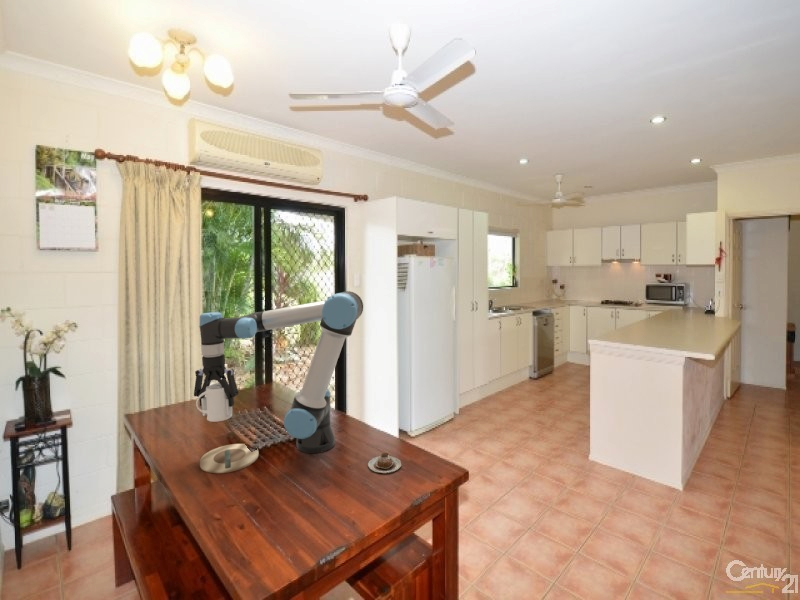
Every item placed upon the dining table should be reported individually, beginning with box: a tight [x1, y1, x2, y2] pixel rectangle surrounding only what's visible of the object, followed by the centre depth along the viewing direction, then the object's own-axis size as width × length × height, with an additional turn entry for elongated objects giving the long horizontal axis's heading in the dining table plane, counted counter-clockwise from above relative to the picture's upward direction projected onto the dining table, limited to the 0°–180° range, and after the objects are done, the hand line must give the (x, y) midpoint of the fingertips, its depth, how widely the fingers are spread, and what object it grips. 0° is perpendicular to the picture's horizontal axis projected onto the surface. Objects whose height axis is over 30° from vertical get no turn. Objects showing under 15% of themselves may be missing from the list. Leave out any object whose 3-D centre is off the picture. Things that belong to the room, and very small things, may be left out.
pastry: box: [367, 452, 402, 474], centre depth 141 cm, size 12×12×5 cm
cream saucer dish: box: [199, 443, 260, 474], centre depth 146 cm, size 20×20×7 cm
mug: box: [195, 382, 233, 423], centre depth 145 cm, size 12×8×12 cm
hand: (217, 414), depth 146 cm, fingers closed on mug, 9 cm apart
